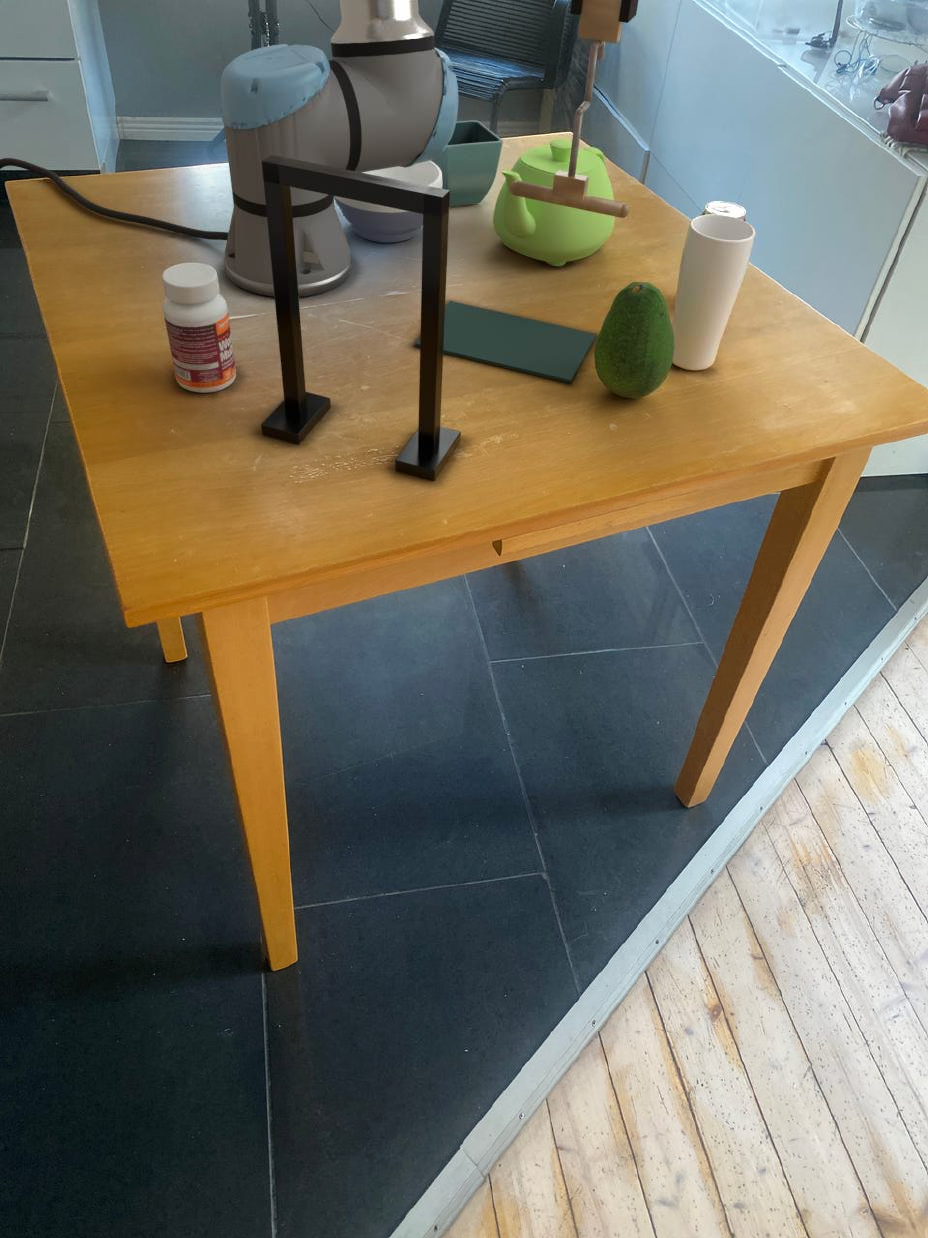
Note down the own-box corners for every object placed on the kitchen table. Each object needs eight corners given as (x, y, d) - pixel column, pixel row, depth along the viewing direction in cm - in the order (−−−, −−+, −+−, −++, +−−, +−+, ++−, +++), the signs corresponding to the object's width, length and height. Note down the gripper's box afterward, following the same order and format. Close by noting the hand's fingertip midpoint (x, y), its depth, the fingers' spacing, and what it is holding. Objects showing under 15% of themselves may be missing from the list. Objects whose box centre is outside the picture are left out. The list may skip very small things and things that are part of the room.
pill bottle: (238, 392, 97) (224, 287, 89) (176, 397, 96) (156, 290, 88) (234, 361, 101) (221, 258, 93) (175, 365, 100) (156, 261, 92)
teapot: (541, 296, 115) (554, 185, 106) (447, 256, 122) (452, 149, 112) (638, 242, 128) (657, 139, 118) (548, 208, 134) (560, 108, 125)
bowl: (448, 252, 122) (451, 192, 117) (335, 255, 120) (332, 193, 115) (432, 206, 132) (434, 149, 127) (327, 208, 130) (325, 149, 125)
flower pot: (473, 184, 139) (477, 118, 132) (499, 208, 133) (504, 140, 127) (417, 190, 136) (419, 123, 130) (441, 215, 130) (444, 146, 124)
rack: (261, 434, 92) (230, 169, 74) (295, 398, 97) (273, 140, 79) (434, 481, 88) (444, 213, 71) (460, 441, 93) (476, 180, 75)
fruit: (651, 422, 97) (676, 313, 89) (578, 402, 99) (595, 293, 90) (671, 385, 102) (696, 279, 94) (602, 367, 104) (620, 261, 96)
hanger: (507, 196, 83) (527, -83, 68) (527, 171, 87) (551, -98, 72) (626, 221, 81) (674, -62, 66) (642, 195, 84) (691, -79, 70)
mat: (414, 346, 105) (415, 343, 105) (450, 303, 113) (450, 300, 112) (570, 383, 102) (570, 380, 101) (596, 336, 109) (596, 333, 109)
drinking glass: (683, 381, 103) (717, 245, 92) (647, 351, 107) (675, 218, 97) (732, 368, 106) (770, 235, 95) (695, 340, 110) (728, 209, 99)
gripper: (519, -443, 57) (490, 8, 74) (790, -427, 54) (695, 42, 70) (556, -432, 62) (520, -12, 79) (806, -417, 59) (714, 19, 75)
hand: (603, 13), depth 75 cm, fingers closed on hanger, 3 cm apart
